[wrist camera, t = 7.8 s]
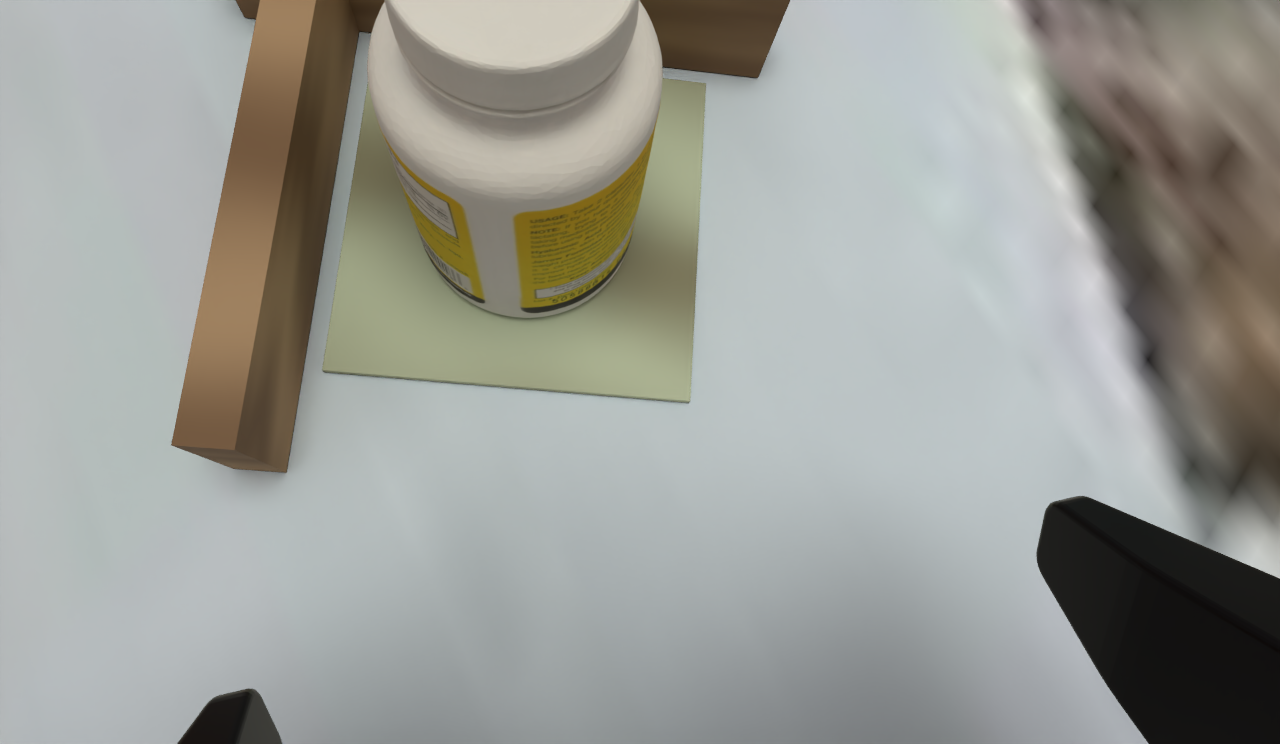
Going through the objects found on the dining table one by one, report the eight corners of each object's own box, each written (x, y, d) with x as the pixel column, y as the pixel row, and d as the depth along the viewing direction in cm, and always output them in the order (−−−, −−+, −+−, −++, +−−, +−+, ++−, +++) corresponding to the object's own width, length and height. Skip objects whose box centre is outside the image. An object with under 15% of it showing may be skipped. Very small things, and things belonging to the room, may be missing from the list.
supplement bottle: (651, 157, 23) (724, -140, 14) (604, 345, 22) (648, 161, 12) (454, 105, 23) (388, -234, 13) (393, 292, 22) (272, 62, 12)
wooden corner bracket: (744, 506, 21) (780, 491, 18) (154, 462, 20) (74, 437, 17) (759, 40, 25) (793, -47, 21) (252, -22, 23) (203, -124, 20)
